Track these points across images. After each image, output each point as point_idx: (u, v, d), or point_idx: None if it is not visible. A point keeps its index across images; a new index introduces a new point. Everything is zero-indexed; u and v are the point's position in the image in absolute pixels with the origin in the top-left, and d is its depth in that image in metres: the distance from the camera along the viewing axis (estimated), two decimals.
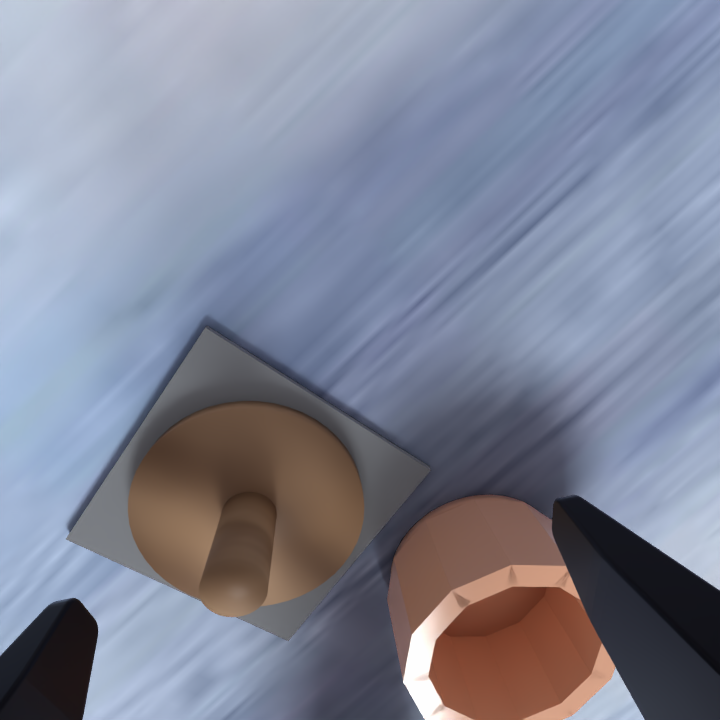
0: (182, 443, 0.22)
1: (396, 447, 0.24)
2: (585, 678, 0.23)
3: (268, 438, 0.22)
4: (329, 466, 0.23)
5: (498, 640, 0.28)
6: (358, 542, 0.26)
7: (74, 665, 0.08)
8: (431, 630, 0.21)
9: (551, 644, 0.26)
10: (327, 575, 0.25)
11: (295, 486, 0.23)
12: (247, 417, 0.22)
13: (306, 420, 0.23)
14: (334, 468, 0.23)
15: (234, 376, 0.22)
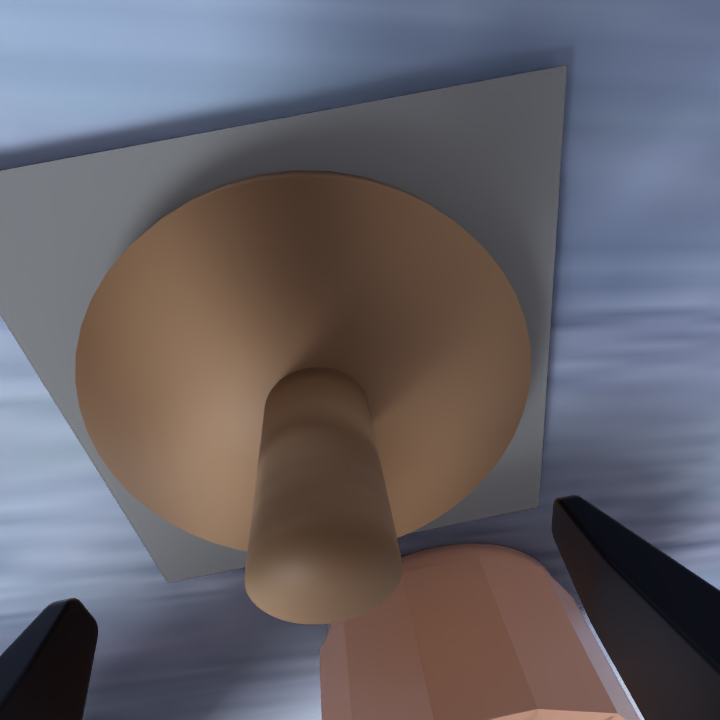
0: (348, 220, 0.10)
1: None
2: None
3: (465, 329, 0.12)
4: (483, 429, 0.13)
5: None
6: None
7: (74, 665, 0.08)
8: None
9: None
10: None
11: (416, 421, 0.13)
12: (479, 273, 0.11)
13: None
14: (484, 436, 0.13)
15: (506, 192, 0.11)
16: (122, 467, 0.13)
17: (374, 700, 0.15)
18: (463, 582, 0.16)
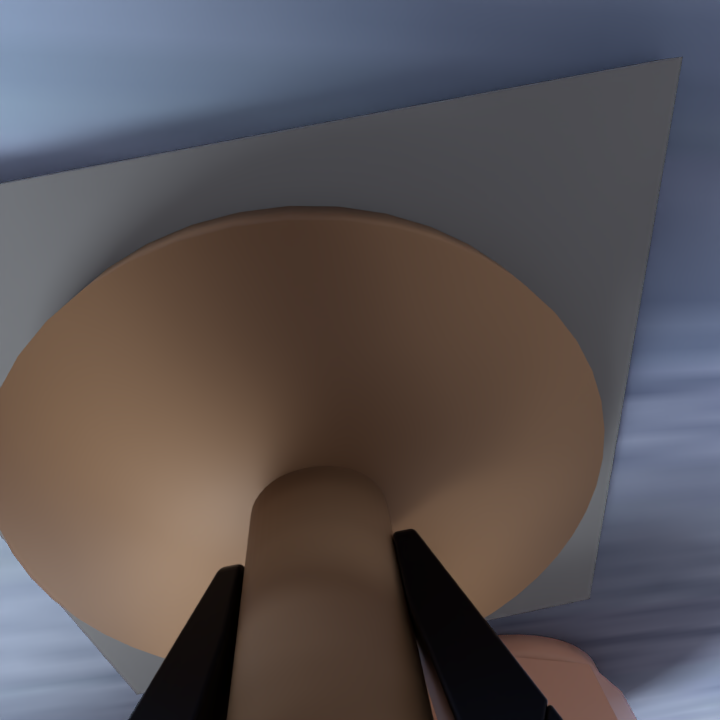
0: (366, 279, 0.07)
1: None
2: None
3: (520, 415, 0.09)
4: (534, 530, 0.10)
5: None
6: None
7: None
8: None
9: None
10: None
11: (450, 523, 0.10)
12: (545, 345, 0.08)
13: None
14: (535, 537, 0.10)
15: (582, 232, 0.08)
16: (63, 590, 0.10)
17: None
18: None
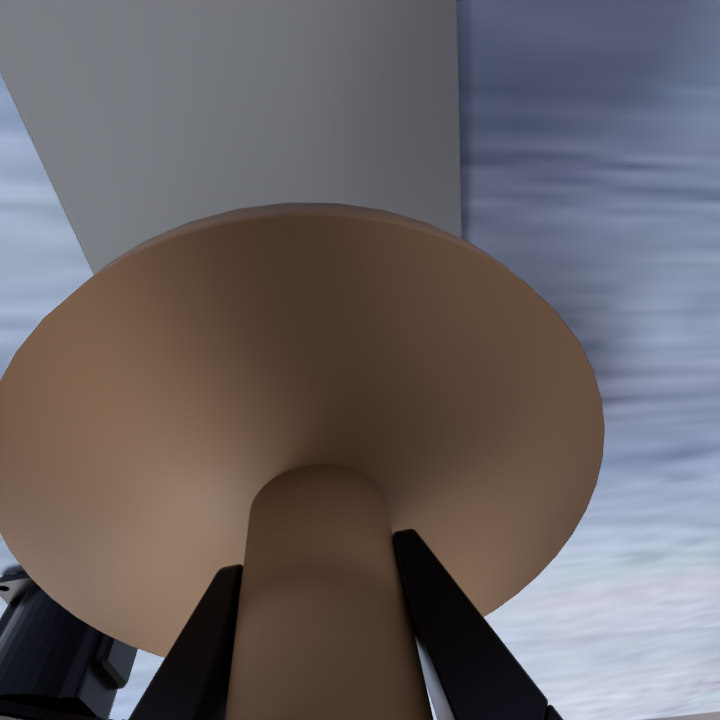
0: (365, 275, 0.07)
1: None
2: None
3: (520, 413, 0.09)
4: (534, 528, 0.10)
5: None
6: None
7: None
8: None
9: None
10: None
11: (449, 521, 0.10)
12: (545, 343, 0.08)
13: None
14: (535, 536, 0.10)
15: (415, 27, 0.14)
16: (62, 588, 0.09)
17: None
18: None
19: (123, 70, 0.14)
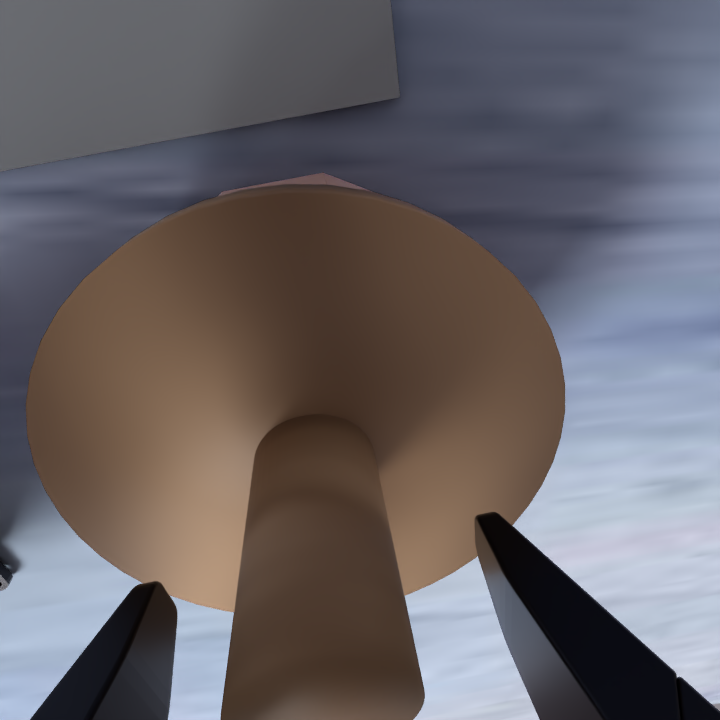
0: (352, 244, 0.08)
1: None
2: None
3: (490, 369, 0.10)
4: (507, 479, 0.12)
5: None
6: (183, 112, 0.12)
7: (161, 647, 0.08)
8: None
9: None
10: None
11: (431, 471, 0.11)
12: (508, 306, 0.09)
13: None
14: (508, 486, 0.12)
15: None
16: (89, 528, 0.11)
17: None
18: (293, 182, 0.12)
19: None
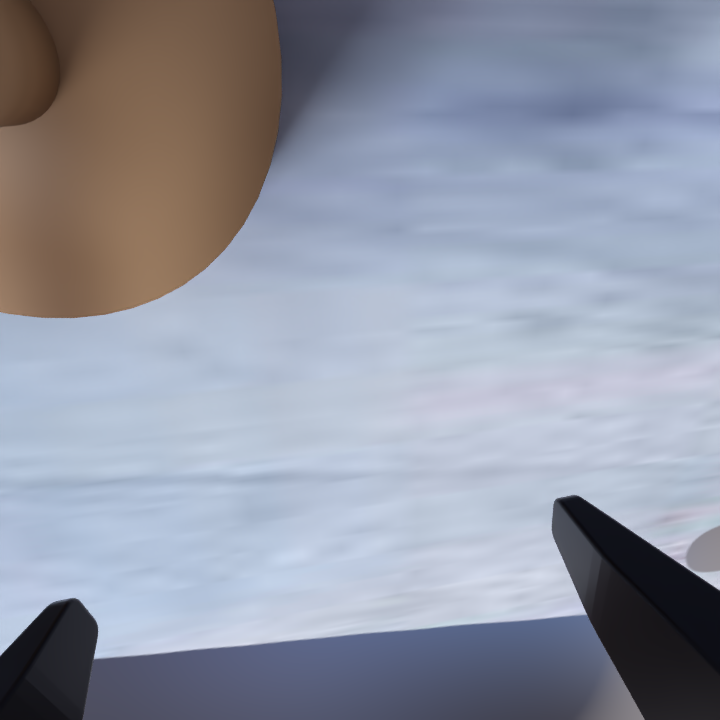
0: None
1: None
2: None
3: None
4: (232, 116, 0.10)
5: None
6: None
7: (74, 665, 0.08)
8: None
9: None
10: (59, 310, 0.12)
11: (134, 88, 0.10)
12: None
13: None
14: (237, 129, 0.11)
15: None
16: None
17: None
18: None
19: None
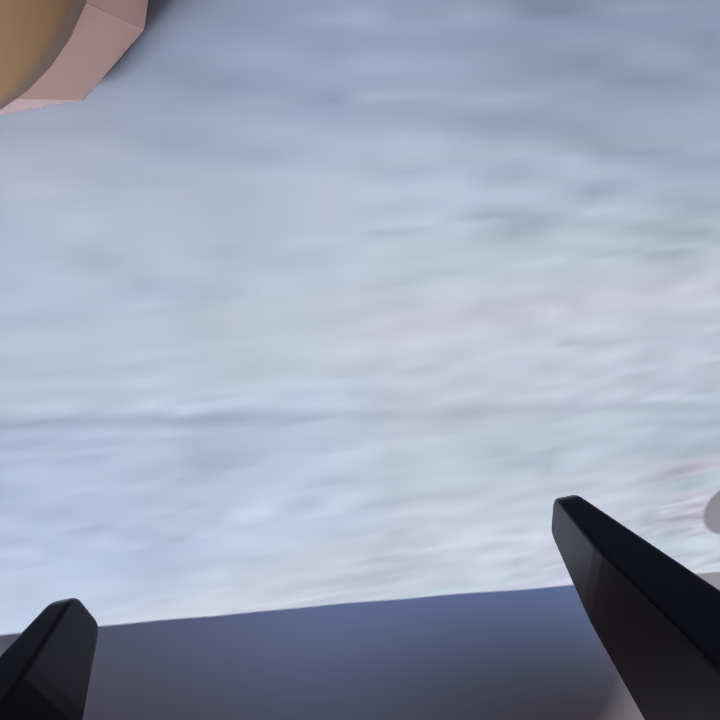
0: None
1: None
2: None
3: None
4: None
5: None
6: None
7: (74, 665, 0.08)
8: None
9: None
10: None
11: None
12: None
13: None
14: None
15: None
16: None
17: None
18: None
19: None
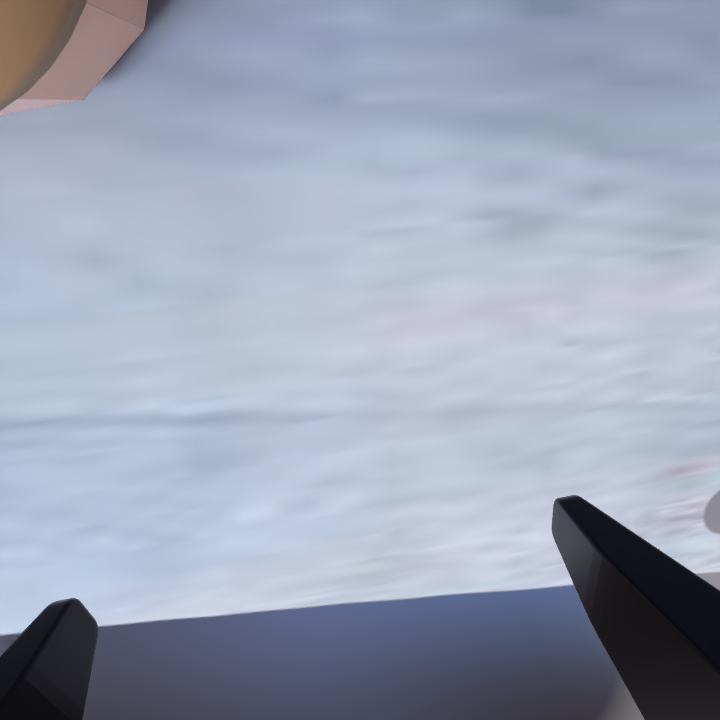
0: None
1: None
2: None
3: None
4: None
5: None
6: None
7: (74, 665, 0.08)
8: None
9: None
10: None
11: None
12: None
13: None
14: None
15: None
16: None
17: None
18: None
19: None
